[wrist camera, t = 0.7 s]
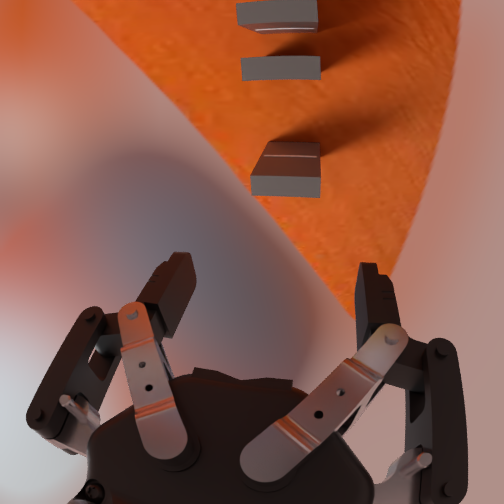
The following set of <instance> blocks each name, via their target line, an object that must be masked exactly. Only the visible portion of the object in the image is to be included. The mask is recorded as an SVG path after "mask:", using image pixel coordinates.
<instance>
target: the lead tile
mask: <svg viewBox="0 0 504 504" xmlns="http://www.w3.org/2000/svg"><path fill="white" fill-rule="evenodd" d="M250 178H251V190H252V195H255V196H288V197H312V198H320V184H321V168H320V143H315V142H268V143H267V145H266V147H265V149H264V151H263V153H262V155H261V156H260V158H259V160H258V162H257V164H256V166H255V168H254V170H253V171H252V173H251V175H250Z"/></svg>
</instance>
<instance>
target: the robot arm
mask: <svg viewBox="0 0 504 504" xmlns="http://www.w3.org/2000/svg"><path fill="white" fill-rule="evenodd" d="M195 287H196V274H195V270H194V266H193V262H192V257H191V255H190V253H188V252H174V253H173V254H172V255H171V257H170V259H169V260H168V261H164V262H163V263H162V264H160V265H159V266H158V267H157V268H156V269H155V271H154V272H153V274H152V276H151V277H150V279H149V281H148V282H147V283H146V285H145V287H144V288H143V290H142V291H141V293H140V295H139V296H138V298H137V300H136V301H135V302H131V303H128V304H126V305H124V306H123V307H122V308H121V309H120V310H119V312H118V313H110V314H104V312H103V311H102V309H101V308H100V307H97V306H93V307H89V308H87V309H85V310H84V311H83V312H82V313H81V314H80V315H79V317H78V319H77V320H76V322H75V323H74V325H73V327H72V328H71V330H70V332H69V333H68V335H67V337H66V338H65V340H64V342H63V344H62V345H61V347H60V349H59V351H58V352H57V354H56V356H55V358H54V360H53V361H52V363H51V365H50V367H49V369H48V371H47V372H46V374H45V376H44V378H43V380H42V382H41V384H40V386H39V388H38V390H37V392H36V394H35V396H34V398H33V400H32V402H31V404H30V406H29V408H28V410H27V413H26V421H27V424H28V425H29V427H30V428H31V429H33V430H34V431H36V432H37V433H38V434H40V435H41V436H42V437H43V438H44V439H46V440H47V441H48V442H50V443H51V444H53V445H54V446H56V447H57V448H60V449H62V450H63V451H65V452H67V453H69V454H71V455H76V454H80V455H83V456H85V457H87V460H88V471H87V479H86V483H85V485H84V487H83V488H82V489H81V491H80V492H79V493H78V494H77V495H76V496H75V497H74V498H73V499H72V500H70V501H69V502H68V504H459V503H460V502H461V501H462V499H463V498H464V497H465V495H466V492H467V488H468V444H467V427H466V414H465V404H464V395H463V388H462V381H461V374H460V368H459V362H458V357H457V351H456V348H455V347H454V345H453V344H452V343H451V342H450V341H448V340H446V339H443V338H435V339H432V340H431V341H430V342H429V343H428V344H426V343H423V342H420V341H416V340H413V339H412V338H410V337H409V336H408V334H407V332H406V331H405V330H404V329H403V328H402V327H401V323H400V317H399V312H398V307H397V302H396V297H395V293H394V287H393V283H392V282H391V280H390V279H389V277H388V276H387V275H380V274H378V268H377V264H376V263H366V262H360V265H359V270H358V276H357V282H356V287H355V315H356V334H357V353H356V354H355V355H354V356H353V357H352V358H351V359H349V358H346V359H345V360H344V361H343V362H342V363H341V364H340V365H339V366H338V367H337V368H336V369H335V370H334V371H333V372H332V373H331V374H330V375H329V376H328V377H327V378H326V379H325V380H324V381H323V382H322V383H321V384H320V385H319V386H318V387H317V388H316V389H315V390H313V391H312V392H311V393H310V394H309V395H308V394H307V393H305V392H304V391H302V390H299V389H297V388H294V387H292V384H293V380H286V379H275V378H259V379H249V380H239V379H236V378H233V377H231V376H228V375H226V374H223V373H221V372H218V371H214V370H208V369H202V368H196V367H195V368H194V370H193V373H192V374H187V375H182V376H179V377H176V378H175V377H174V375H173V372H172V370H171V367H170V364H169V362H168V359H167V356H166V353H165V350H164V347H163V345H162V343H161V342H162V339H163V337H166V338H172V337H173V335H174V333H175V331H176V329H177V327H178V324H179V322H180V320H181V318H182V316H183V314H184V311H185V309H186V307H187V305H188V303H189V301H190V298H191V296H192V294H193V292H194V290H195ZM94 347H95V349H96V350H95V352H94V353H93V355H92V357H91V360H90V362H89V363H88V360H89V357H90V355H91V353H92V351H93V349H94ZM121 358H122V360H123V364H124V368H125V373H126V377H127V382H128V386H129V389H130V393H131V397H132V401H133V405H132V406H130V407H129V408H127V409H125V410H124V411H122V412H121V413H119V414H118V415H116V416H114V417H113V418H111V419H110V420H108V421H106V422H105V423H103V424H102V425H100V415H99V413H98V411H99V409H100V406H101V404H102V402H103V399H104V397H105V394H106V392H107V389H108V387H109V385H110V383H111V380H112V378H113V376H114V374H115V371H116V369H117V367H118V365H119V362H120V360H121ZM386 384H389V385H393V386H396V387H399V388H403V389H405V396H406V397H405V398H406V426H405V428H406V430H405V453H404V454H403V455H402V456H400V457H399V458H397V459H396V460H395V461H394V462H393V463H392V464H391V465H390V467H389V469H388V473H387V476H386V478H385V480H384V481H383V482H382V483H379V484H374V483H373V480H372V478H371V476H370V474H369V473H368V472H367V470H366V469H365V467H364V466H363V465H362V463H361V462H360V461H359V459H358V458H357V457H356V455H355V454H354V453H353V451H352V450H351V449H350V447H349V446H348V445H347V443H346V442H345V440H344V439H343V438H342V437H343V436H344V435H345V434H346V433H347V432H348V431H349V430H350V429H351V428H352V426H353V425H354V424H355V423H356V421H357V420H358V419H359V418H360V416H361V415H362V414H363V412H364V411H365V410H366V409H367V407H368V406H369V405H370V404H371V402H372V401H373V400H374V399H375V397H376V396H377V395H378V394H379V393H380V391H381V390H382V389H383V388H384V386H385V385H386Z"/></svg>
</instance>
